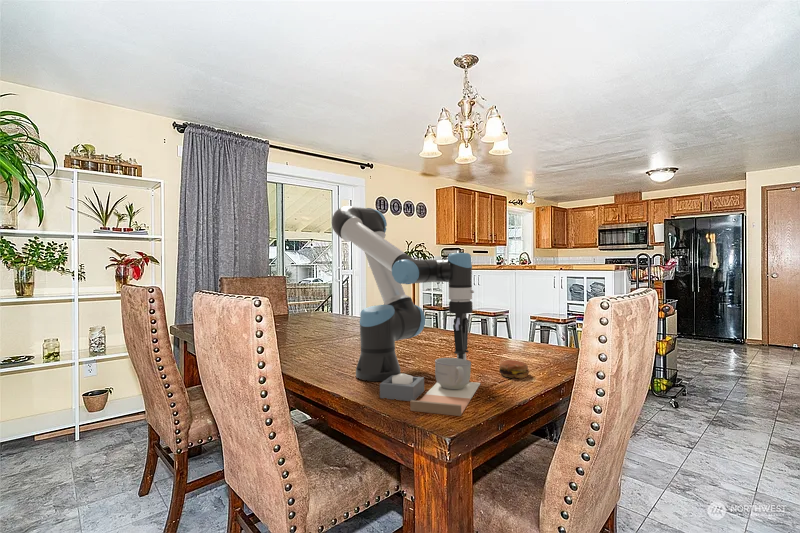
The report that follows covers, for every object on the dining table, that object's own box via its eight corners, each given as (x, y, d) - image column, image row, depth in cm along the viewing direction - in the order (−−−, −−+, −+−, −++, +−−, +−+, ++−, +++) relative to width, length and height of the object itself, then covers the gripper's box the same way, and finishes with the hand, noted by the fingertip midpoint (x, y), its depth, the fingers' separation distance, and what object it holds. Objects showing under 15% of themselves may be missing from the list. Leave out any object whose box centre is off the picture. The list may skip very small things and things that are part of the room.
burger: (515, 370, 145) (515, 357, 145) (534, 376, 136) (534, 362, 136) (492, 374, 141) (492, 360, 141) (510, 381, 132) (510, 366, 132)
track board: (410, 410, 106) (410, 401, 106) (439, 380, 133) (439, 373, 133) (460, 416, 102) (460, 406, 102) (480, 383, 129) (480, 376, 129)
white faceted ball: (389, 396, 118) (388, 375, 118) (396, 390, 124) (396, 370, 124) (409, 398, 116) (408, 377, 116) (415, 392, 121) (415, 371, 121)
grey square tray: (379, 398, 117) (379, 383, 117) (392, 387, 126) (392, 374, 126) (413, 401, 113) (413, 386, 113) (424, 390, 123) (424, 377, 123)
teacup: (434, 381, 131) (434, 356, 131) (469, 381, 130) (468, 356, 130) (437, 395, 117) (436, 367, 117) (475, 395, 116) (475, 366, 116)
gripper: (468, 302, 127) (469, 379, 127) (475, 299, 139) (476, 369, 139) (444, 302, 130) (445, 377, 130) (453, 298, 142) (454, 367, 142)
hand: (461, 373), depth 134 cm, fingers closed
